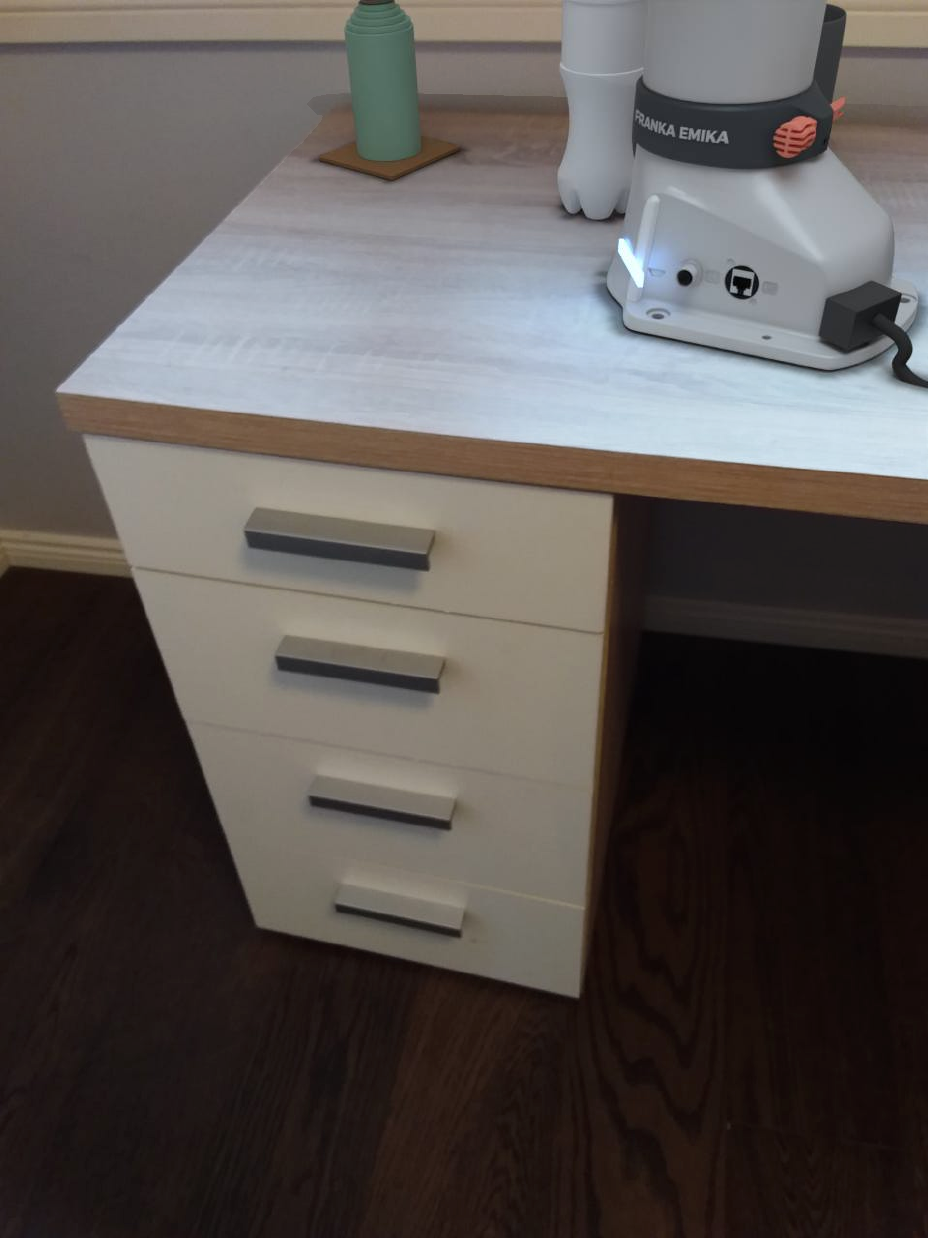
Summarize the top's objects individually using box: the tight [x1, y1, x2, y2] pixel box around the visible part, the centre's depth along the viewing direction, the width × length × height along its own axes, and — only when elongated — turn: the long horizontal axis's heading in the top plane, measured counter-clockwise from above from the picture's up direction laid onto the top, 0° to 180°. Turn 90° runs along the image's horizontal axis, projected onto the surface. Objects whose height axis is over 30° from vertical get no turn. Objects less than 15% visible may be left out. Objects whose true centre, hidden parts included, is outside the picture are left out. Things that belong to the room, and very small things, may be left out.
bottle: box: [343, 0, 422, 162], centre depth 96 cm, size 6×6×15 cm
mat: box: [318, 136, 461, 181], centre depth 101 cm, size 10×10×1 cm
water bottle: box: [556, 0, 648, 221], centre depth 80 cm, size 7×7×25 cm
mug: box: [813, 3, 848, 104], centre depth 94 cm, size 14×9×12 cm
